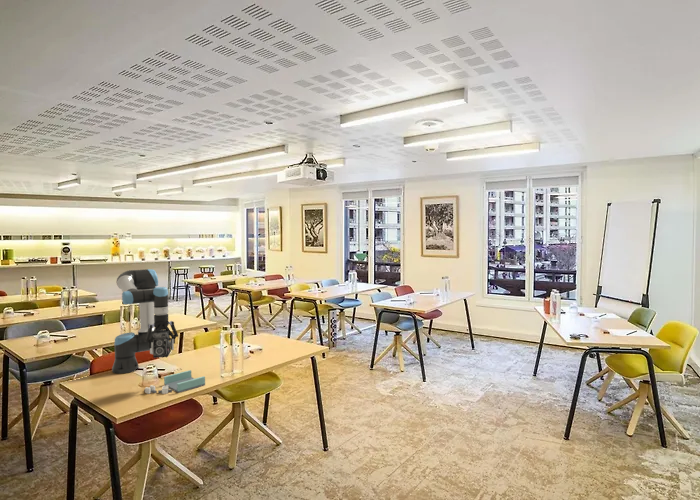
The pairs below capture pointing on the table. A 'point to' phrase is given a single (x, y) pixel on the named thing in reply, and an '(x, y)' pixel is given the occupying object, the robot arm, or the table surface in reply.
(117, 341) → the robot arm
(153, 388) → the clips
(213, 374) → the table surface
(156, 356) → the camera
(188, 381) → the dock
